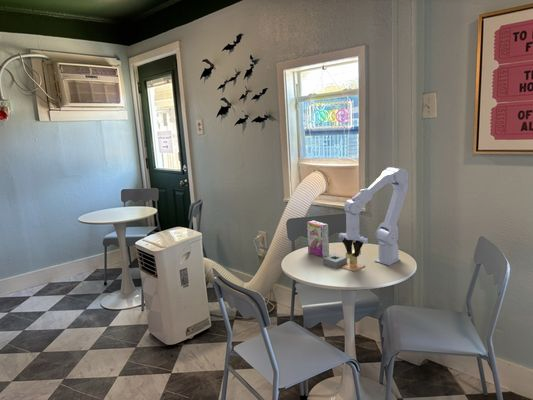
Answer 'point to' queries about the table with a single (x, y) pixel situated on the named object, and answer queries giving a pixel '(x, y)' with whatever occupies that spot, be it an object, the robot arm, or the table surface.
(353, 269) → the terracotta pad
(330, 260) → the slate socket block
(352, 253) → the brass rectangular peg
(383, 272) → the table surface
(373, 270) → the table surface
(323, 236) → the candy bar box
